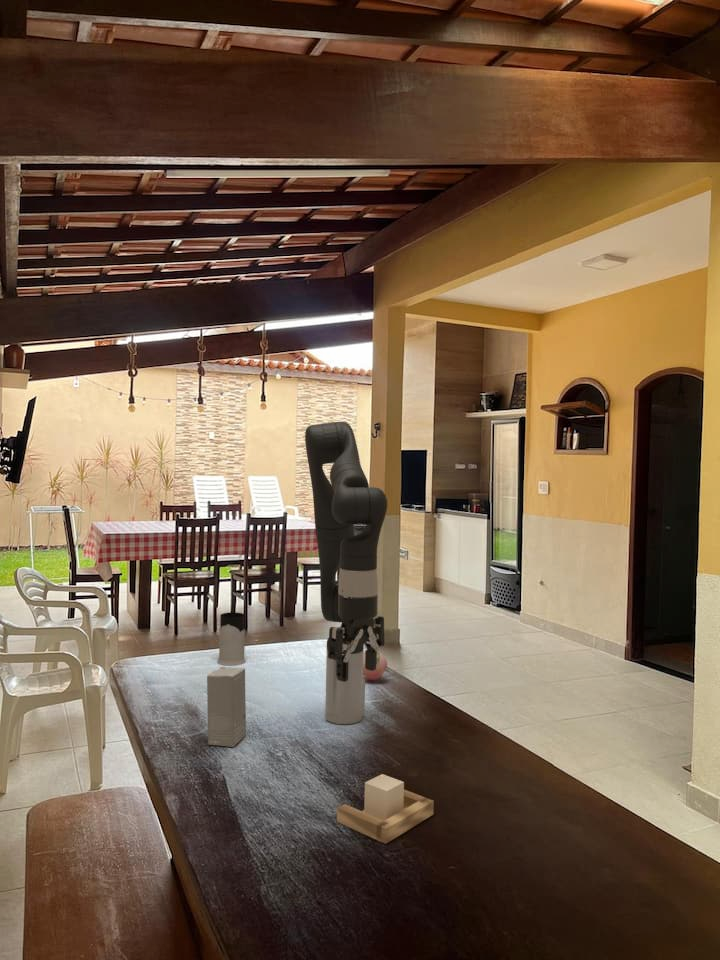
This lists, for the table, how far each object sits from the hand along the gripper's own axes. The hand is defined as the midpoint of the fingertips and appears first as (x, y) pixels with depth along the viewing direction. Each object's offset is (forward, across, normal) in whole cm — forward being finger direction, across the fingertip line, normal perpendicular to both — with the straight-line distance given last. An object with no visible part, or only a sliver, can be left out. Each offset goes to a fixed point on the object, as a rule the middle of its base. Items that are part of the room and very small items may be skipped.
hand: (356, 675), depth 140 cm
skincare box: (+24, -1, -38) cm, 45 cm away
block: (+22, +5, +10) cm, 25 cm away
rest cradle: (+23, +5, +11) cm, 26 cm away
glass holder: (+26, -47, -88) cm, 103 cm away
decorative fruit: (+25, -59, -42) cm, 76 cm away
